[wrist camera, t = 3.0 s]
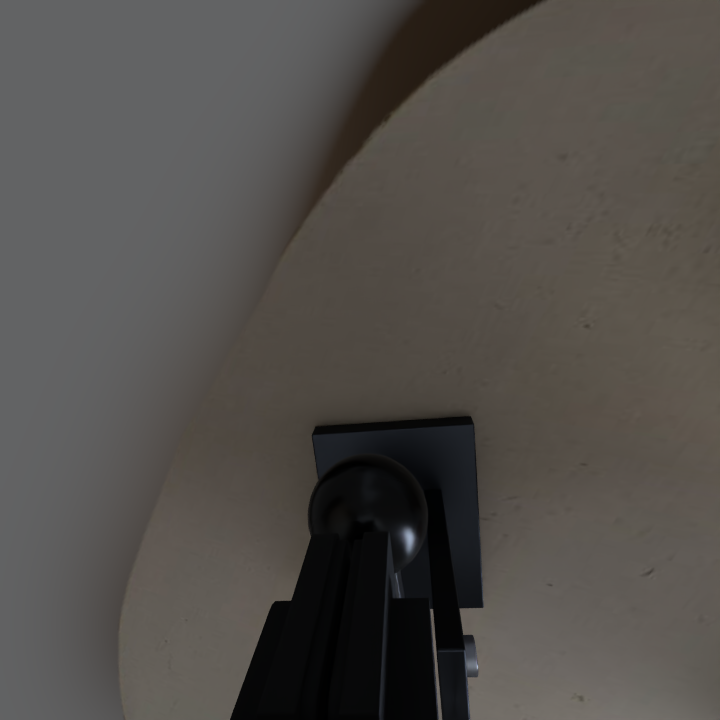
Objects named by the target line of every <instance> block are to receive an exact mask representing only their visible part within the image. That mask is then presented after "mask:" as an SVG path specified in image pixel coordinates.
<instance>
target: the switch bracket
mask: <svg viewBox="0 0 720 720" xmlns="http://www.w3.org/2000/svg"><path fill="white" fill-rule="evenodd" d="M312 440H313V447H314V454H315V461H316V468H317V474H318V480H319V479H320V478H321V476H322V475H323V474H324V473H325V472H326V471H327V470H328V469H329V468H330V467H331V466H332V465H334V464H335V463H337V462H338V461H340V460H342V459H344V458H346V457H349V456H352V455H357V454H364V453H371V454H379V455H383V456H386V457H389V458H391V459H394V460H395V461H397V462H399V463H400V464H402V465H403V466H404V467H406V468H407V469H408V470H409V471H410V472H411V473H412V474H413V475H414V477H415V478H416V480H417V481H418V483H419V484H420V486H421V488H422V490H423V493H424V495H425V498H426V502H427V508H428V527H427V532H426V536H425V539H424V542H423V544H422V546H421V548H420V550H419V552H418V553H417V555H416V556H415V558H414V559H413V560H412V561H411V562H410V563H409V564H408V565H407V566H406V567H405V568H403V569H402V570H401V571H400V572H401V578H402V584H403V590H404V596H405V598H427V597H429V603H430V609H433V613H434V625H435V638H436V650H437V662H438V674H439V686H440V698H441V709H442V720H470V711H469V696H468V681H467V677H478V662H477V653H476V646H475V640H474V637H473V635H463V630H462V623H461V616H460V610H459V608H483V607H484V603H483V584H482V565H481V546H480V527H479V508H478V488H477V469H476V450H475V431H474V423H473V420H472V418H471V416H467V417H453V418H438V419H423V420H408V421H394V422H379V423H364V424H349V425H334V426H320V427H315V429H314V431H313V434H312Z"/></svg>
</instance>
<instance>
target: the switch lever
mask: <svg viewBox="0 0 720 720" xmlns="http://www.w3.org/2000/svg"><path fill="white" fill-rule="evenodd" d="M308 527H309V531H310V535H311V537H312V535H313V534H334V533H337V534H338V535H339V538H340V540H348V543H349V550H350V557H352V551H353V544H354V540H361V539H363V534H364V532H383V531H389V533H390V539H391V548H392V558H393V567H394V577H395V586H396V595H397V598H405V596H404V590H403V584H402V578H401V572H400V571H401V570H402V569H403V568H405V567H406V566H407V565H408V564H409V563H410V562H411V561H412V560H413V559H414V558H415V556H416V555H417V553H418V552H419V550H420V548H421V546H422V544H423V542H424V539H425V536H426V532H427V527H428V508H427V502H426V498H425V495H424V493H423V490H422V488H421V486H420V484H419V483H418V481H417V480H416V478H415V477H414V475H413V474H412V473H411V472H410V471H409V470H408V469H407V468H406V467H404V466H403V465H402V464H400V463H399V462H397V461H395V460H394V459H391V458H389V457H386V456H383V455H379V454H371V453H364V454H357V455H352V456H349V457H346V458H344V459H342V460H340V461H338V462H337V463H335V464H334V465H332V466H331V467H330V468H329V469H328V470H327V471H326V472H325V473H324V474H323V475H322V476H321V478H320V479H319V480H318V482H317V484H316V486H315V488H314V490H313V492H312V495H311V498H310V502H309V507H308Z"/></svg>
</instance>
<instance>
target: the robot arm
mask: <svg viewBox="0 0 720 720" xmlns="http://www.w3.org/2000/svg"><path fill="white" fill-rule="evenodd" d="M230 720H439V717H438V703H437V690H436V676H435V663H434V650H433V638H432V626H431V614H430V603H429V597H427V598H397V595H396V586H395V577H394V567H393V558H392V548H391V539H390V533H389V531H383V532H364V534H363V539H361V540H354V544H353V551H352V557H350V550H349V543H348V540H340V538H339V535H338V534H337V533H334V534H313V535H312V537H311V539H310V543H309V546H308V549H307V552H306V555H305V559H304V562H303V565H302V568H301V572H300V575H299V578H298V581H297V584H296V588H295V591H294V594H293V597H292V600H291V601H275V602H274V603H273V604H272V606H271V608H270V611H269V613H268V616H267V619H266V622H265V624H264V627H263V630H262V633H261V635H260V638H259V641H258V644H257V647H256V649H255V652H254V655H253V658H252V660H251V663H250V666H249V669H248V671H247V674H246V677H245V680H244V682H243V685H242V688H241V691H240V693H239V696H238V699H237V702H236V705H235V707H234V710H233V713H232V716H231V718H230Z"/></svg>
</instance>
